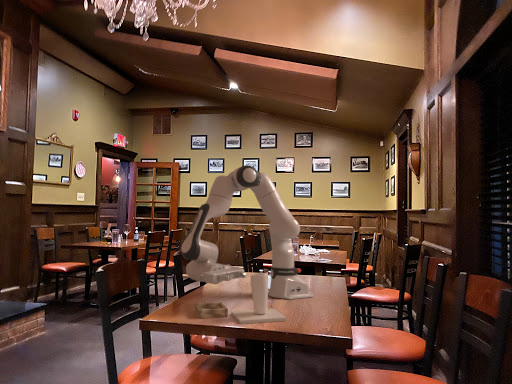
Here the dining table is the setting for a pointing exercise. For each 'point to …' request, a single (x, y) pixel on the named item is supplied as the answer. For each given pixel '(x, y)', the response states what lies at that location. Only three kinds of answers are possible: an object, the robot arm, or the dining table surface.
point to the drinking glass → (260, 292)
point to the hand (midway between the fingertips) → (237, 277)
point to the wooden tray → (210, 310)
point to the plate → (257, 316)
